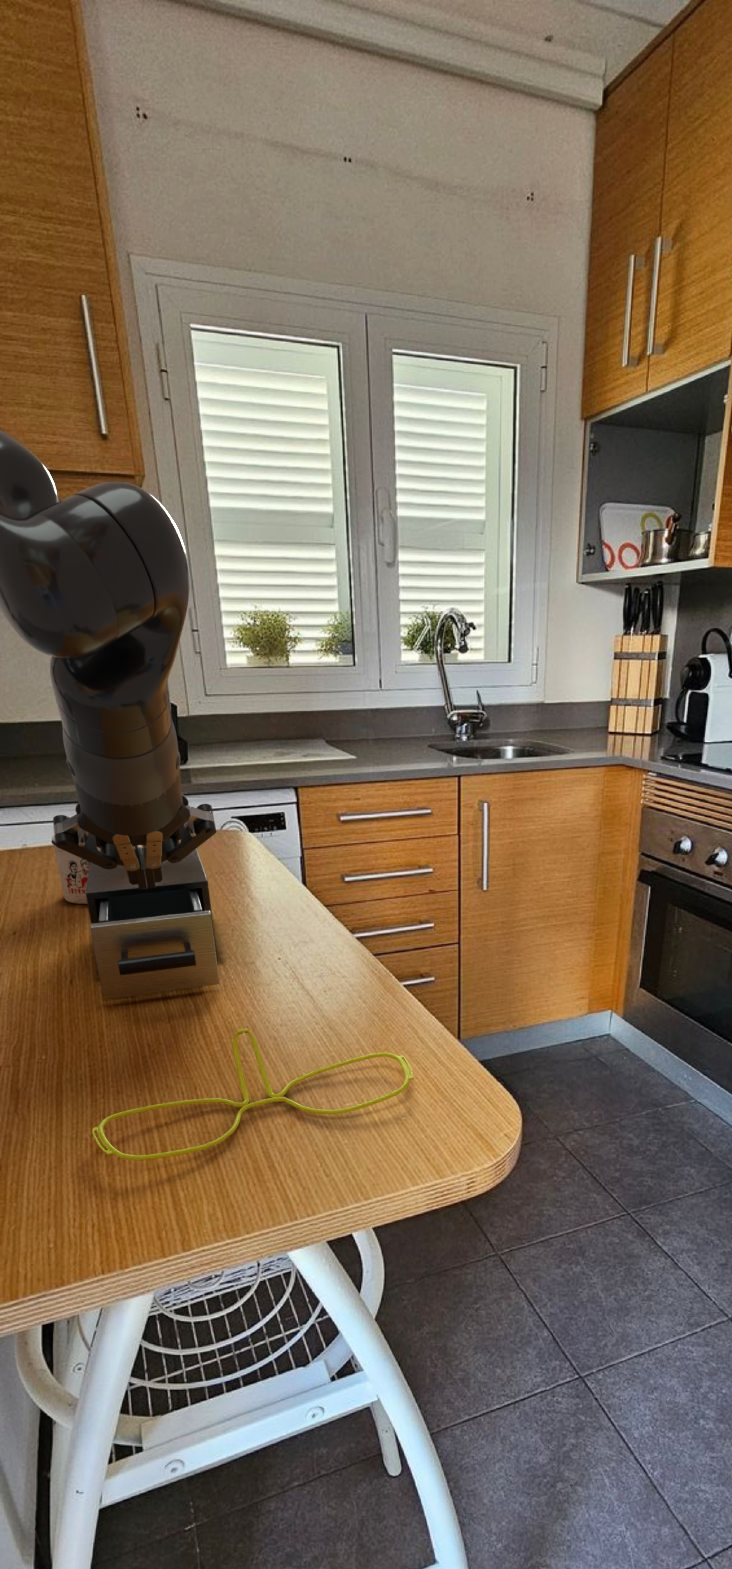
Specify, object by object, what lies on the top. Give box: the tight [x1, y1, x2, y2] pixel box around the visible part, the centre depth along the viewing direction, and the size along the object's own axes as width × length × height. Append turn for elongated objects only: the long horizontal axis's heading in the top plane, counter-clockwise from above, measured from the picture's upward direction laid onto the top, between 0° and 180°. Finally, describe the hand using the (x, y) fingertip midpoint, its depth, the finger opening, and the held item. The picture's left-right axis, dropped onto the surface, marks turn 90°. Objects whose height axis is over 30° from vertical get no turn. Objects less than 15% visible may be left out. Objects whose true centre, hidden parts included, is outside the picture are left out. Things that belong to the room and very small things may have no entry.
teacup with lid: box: [51, 834, 143, 905], centre depth 120 cm, size 12×9×12 cm
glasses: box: [91, 1028, 414, 1161], centre depth 66 cm, size 25×10×5 cm, turn 116°
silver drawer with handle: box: [89, 889, 221, 1001], centre depth 89 cm, size 19×11×8 cm, turn 20°
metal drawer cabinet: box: [86, 848, 219, 962], centre depth 100 cm, size 16×13×10 cm
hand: (145, 879), depth 76 cm, fingers closed
